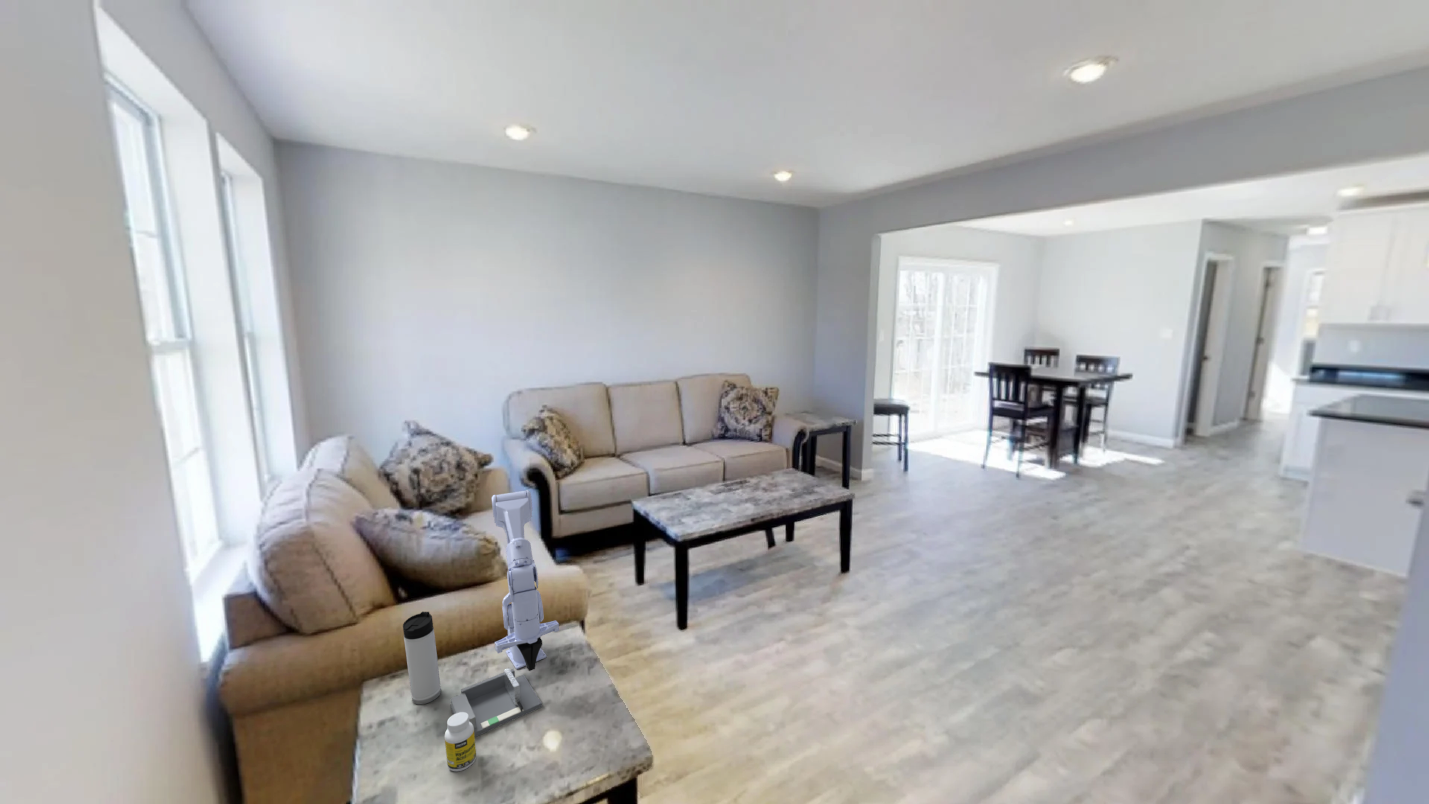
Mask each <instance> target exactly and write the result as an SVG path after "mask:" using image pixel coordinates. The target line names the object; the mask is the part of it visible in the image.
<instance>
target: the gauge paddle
mask: <svg viewBox="0 0 1429 804" xmlns="http://www.w3.org/2000/svg"><path fill="white" fill-rule="evenodd" d="M510 670H511V669H510V667H507V668H505V669H503V673H504V679H505V688H506V690H507V691H508V693H509V695H510V697H511V698H512V700H513V702H514V704H515V705H518V707H519V709H520V710H523V706H522V705H521V698H520V687H519V684H518V682H517V680H516V679H515V678H516V676H515V677H514V676H513V674H512V672H511V671H510Z"/></svg>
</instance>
